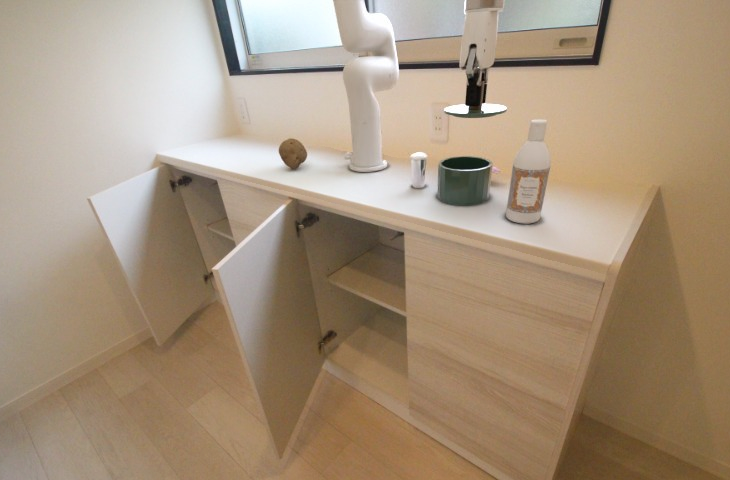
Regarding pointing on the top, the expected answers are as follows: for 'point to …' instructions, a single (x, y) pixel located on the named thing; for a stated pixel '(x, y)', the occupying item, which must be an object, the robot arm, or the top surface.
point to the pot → (464, 180)
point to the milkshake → (418, 169)
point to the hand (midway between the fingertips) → (475, 103)
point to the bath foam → (529, 177)
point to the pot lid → (476, 109)
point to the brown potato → (292, 153)
